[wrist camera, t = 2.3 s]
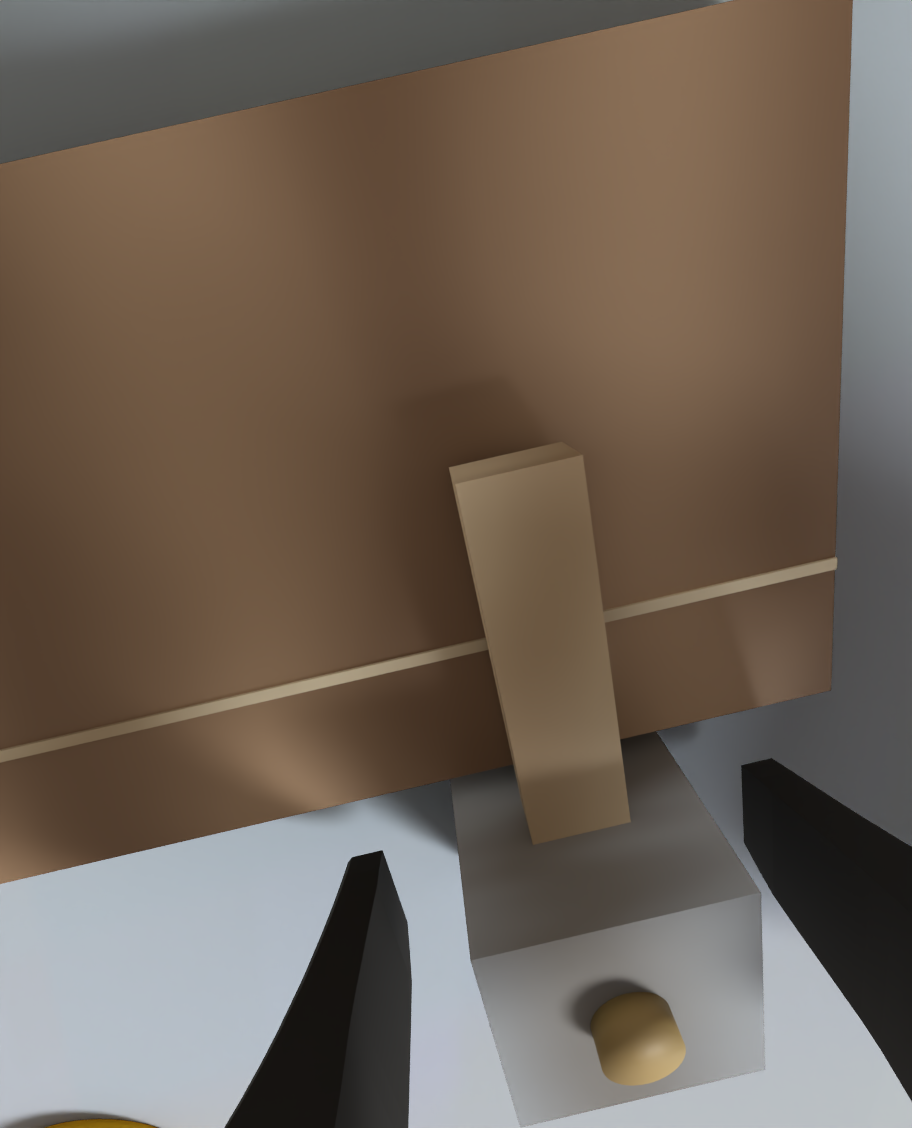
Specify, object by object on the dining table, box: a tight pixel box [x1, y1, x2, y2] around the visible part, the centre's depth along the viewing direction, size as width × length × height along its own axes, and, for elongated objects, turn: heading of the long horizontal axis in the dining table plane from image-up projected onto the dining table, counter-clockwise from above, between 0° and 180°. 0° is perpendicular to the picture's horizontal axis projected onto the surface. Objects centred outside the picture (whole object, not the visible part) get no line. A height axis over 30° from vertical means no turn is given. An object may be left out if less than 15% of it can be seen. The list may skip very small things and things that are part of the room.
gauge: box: [449, 442, 765, 1127], centre depth 10 cm, size 4×10×6 cm, turn 12°
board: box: [0, 0, 853, 884], centre depth 9 cm, size 24×10×2 cm, turn 102°
